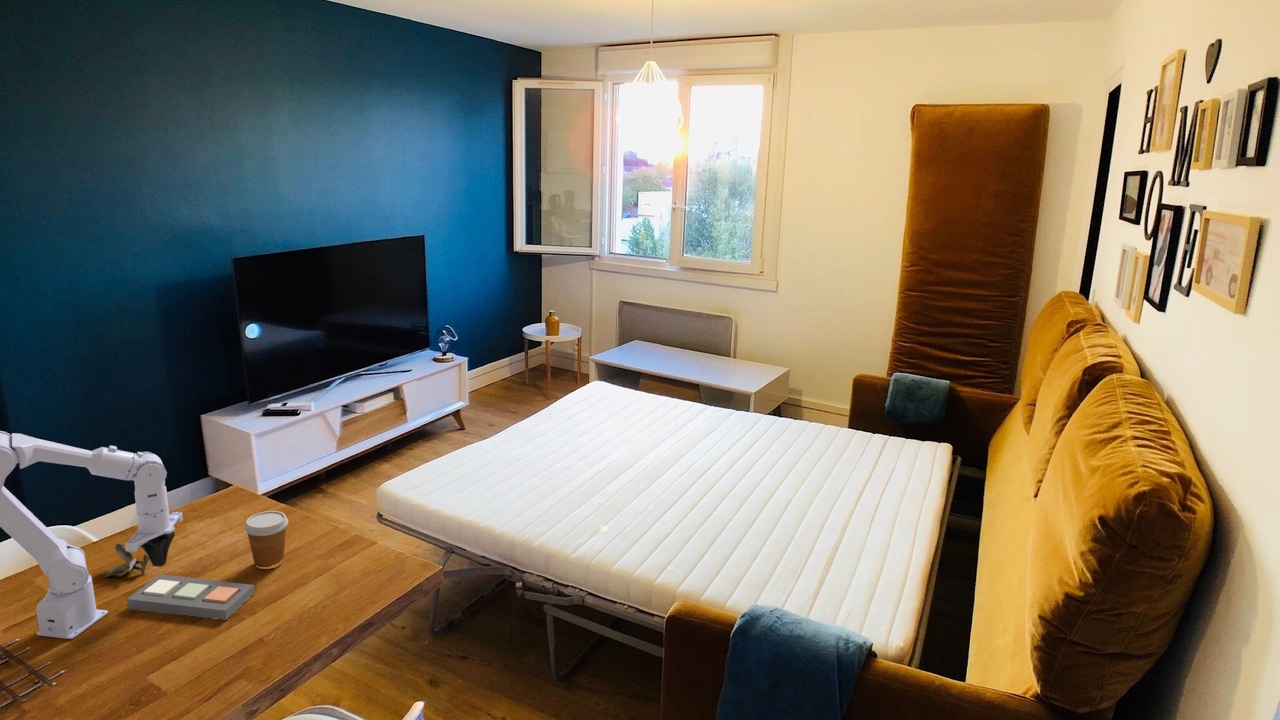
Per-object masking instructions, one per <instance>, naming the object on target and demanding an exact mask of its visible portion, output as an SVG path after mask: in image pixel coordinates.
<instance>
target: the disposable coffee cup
mask: <svg viewBox="0 0 1280 720" xmlns="http://www.w3.org/2000/svg"><path fill="white" fill-rule="evenodd" d="M288 524H289V518H287V516H286V513H284V512H283V511H277V510H266V511H260V512H257V513H254V514H252V515H250V517H248V518H247V519H246V521H245V524H244V530H245V532H246V533H247V538H248V542H249V545H250V550H251V553H252V559H253V562H254V566H255V565H256V566H258V567H269V566H272V565H275V564H277V563H279V562H280V561H281V560H282V559H283V558H284V559H285V549H286V535H287V526H288Z"/></svg>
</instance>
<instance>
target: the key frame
mask: <svg viewBox="0 0 1280 720" xmlns="http://www.w3.org/2000/svg"><path fill="white" fill-rule="evenodd" d="M159 579H160V580H169V581H177V582H180V585H179V586H178V587H177V588H176V589H174V590H173V591H172V592H170V593H169V594H168V595H167V596H165V597H162V596H154V595H145V594H144V591H145V590H146V589H147V588H149V587H150V586H151V585H153V584H154V583H155V582H157V581H158V580H159ZM188 583H195V584H203V585H209V589H208V590H207V591H206V592H205V593H203V594H202V595H201V596H200V597H199V598H197V599H196V600H188V599H179V598H174V594H175V593H177V592H178V591H179V590H180V589H182V588H183V587H184V586H185V585H187V584H188ZM218 586H221V587H229V588H238V589H239V592H238V593H237V594H236V595H235V596H234V597H233V598H232V599H231V600H229V601H228V602H227V603H226V604H222V603H213V602H205V601H204V598H205V597H206V596H207V595H208V594H210V593H211V592H212V591H213V590H214V589H216V588H217V587H218ZM253 593H254V594H255V584H248V583H239V582H232V581H231V582H230V581H223V580H222V581H221V580H212V579H204V578H197V577H196V578H195V577H187V576H178V575H170V574H169V575H168V574H158V575H157V576H156V577H155V578H153V579H152V580H150V581H149V582H148V583H146V584H145V585H144V586H142V587H141V588H140V589H138V590H137V591H136V592H134V593H133V594H132V595H129V597H127V598H126V602H127V609H128V610H134V611H142V612H148V613H149V612H151V613H158V614H166V615H167V614H168V615H176V616H183V615H187V616H186V617H191V616H196V617H195V618H199V617H202V618H201V619H208V618H212V619H211V620H214V619H213V618H218V619H228V618H229V617H230V616H231V615H232V614H233V613H234V612H235V611H236V610H237V609H238V608H239V607H240V606H241V605H242V604H243V603H244V602H245V601H246V600H247V599H248V598H249V597H250V596H251V595H252V594H253ZM234 614H235V613H234ZM234 614H233V615H234ZM233 615H232V616H233ZM232 616H231V617H232ZM231 617H230V618H231ZM230 618H229V619H230ZM229 619H228V620H229Z"/></svg>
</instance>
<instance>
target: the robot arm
mask: <svg viewBox="0 0 1280 720" xmlns="http://www.w3.org/2000/svg"><path fill="white" fill-rule="evenodd" d="M37 462H38V463H39V462H43V463H52V464H58V465H59V464H60V465H66V466H67V465H68V466H75V467H82V468H86V469H87V470H88V471H89V473H90V474H91V475H93V476H98V477H105V478H111V479H116V480H122V481H133V482H134V489H135V490H134V493H133V494H134V500H135V501H134V502H135V506H136V507H135V509H136V518H137V523H138V529H137V530H136V531H135V533H134V534H133V535H132V536H131V537H130V538H129V539H128V541H126V542H125V544H124V545H125V551H127V552H129V553H136V552H138V551H139V548H141V549H142V550H144V552H145V554H146V555H147V556H148V557H149V558H150V559H149V561H150V563H151V564H152V566H153V567H161V568H162V567H164V566H165V565H166V563H167V560H168V555H169V554H168V553H169V549H170V547H171V543H172V542H173V539H174V537H175V529H176V528H175V524H177V523H181V522H182V521H184V517H183V512H179V511H173V512H171V513H170V510H169V500H168V491H167V486H166V485H165V484H166V478H167V474H168V472H167V470H166V467H165V465H164V464H163V461H162V459H161V458H160V457H159V456H158V455H157V454H155V453H152V452H150V451H141V452H140V451H137V452H136V453H134V452H130V451H125V450H121V449H118V447H117V446H116V445H109V446H108V447H106V446H105V447H104V446H101V447H99V448H95V449H93V450H89V449H84V448H80V447H75V446H71V445H67V444H63V443H59V442H58V443H57V442H55V441H49V440H45V439H40V438H36V437H34V436H29V435H26V434H23V433H13V432H12V433H11V434H10V433H8V432H7V431H2V430H0V528H1V529H2V530H3V531H4V532H5V533H6V534H7V535H9V536H10V537H11V539H13V540H14V541H15V542H16V543H17V544H18V545H20V546H21V548H23V549H24V550H25V551H26V552H27V553H28V554H29V555H30V556H32V557H33V558H34V559H35V561H36V562H37V564H38V566H39V567H40V569H41V571H42V573H43V574H44V575H45V576H46V577H47V578H48V580H49V584H48V586H47V589H48V590H47V592H46V594H45V596H44V597H43V598H42V600H40V601H39V602H37V605H36V610H35V611H36V618H37V623H38V629H39V630H38V631H37V632H36V636H42V637H50V638H57V639H65V640H66V639H67V640H72V639H75V638H76V637H78V636H79V635H80V634H81V633H83V632H84V631H86V630H87V629H88V628H89V627H91V626H92V625H94V624H95V623H96V622H98V621H100V619H102V618H103V617H105V616H106V615H107V614H108V613H109V610H106V609H97V603H96V598H95V589H94V584H93V577H92V575H91V574H90V572H89V571H88V567H87V563H86V557H87V556H86V553H85V551H84V550H83V549H82V548H81V547H78V546H75V545H71V544H69V543H68V542H67V541H66V540H65V539H62V538H58V537H57V536H56V535H55V533H53V532H52V531H51V530H50V529H49V528H48V527H47V526H46V525H45V524H44V523H43V522H42V521H41V520H39V519H38V517H36V516H35V515H34V513H33V512H32V511H30V509H28V508H27V507H26V506H25V505H24V504H23V503H22V502H21V501H20V500H19V499H18V498H17V497H16V496H15V495H13V493H12V492H10V490H8V489H7V488H6V487H5V486H4V484H5V480H6V478H7V477H8V476H9V475H10V474H11V472H13V470H14V469H15V467H16V466H17V464H19V469H20V470H21V469H24V468H26V467H28V466H30V465H33V464H35V463H37Z"/></svg>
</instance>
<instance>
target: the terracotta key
mask: <svg viewBox="0 0 1280 720" xmlns="http://www.w3.org/2000/svg"><path fill="white" fill-rule="evenodd" d="M238 592H239V589H238V588H229V587H221V586H218V587H217V588H216V589H214V590H213V591H212V592H211V593H210V594H208V595H207V596H206V597H205V598H204V601H205V602H213V603H222V604H226V603H227V602H228V601H229V600H231V599H232V598H233V597H234V596H235V595H236V594H237V593H238Z"/></svg>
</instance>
